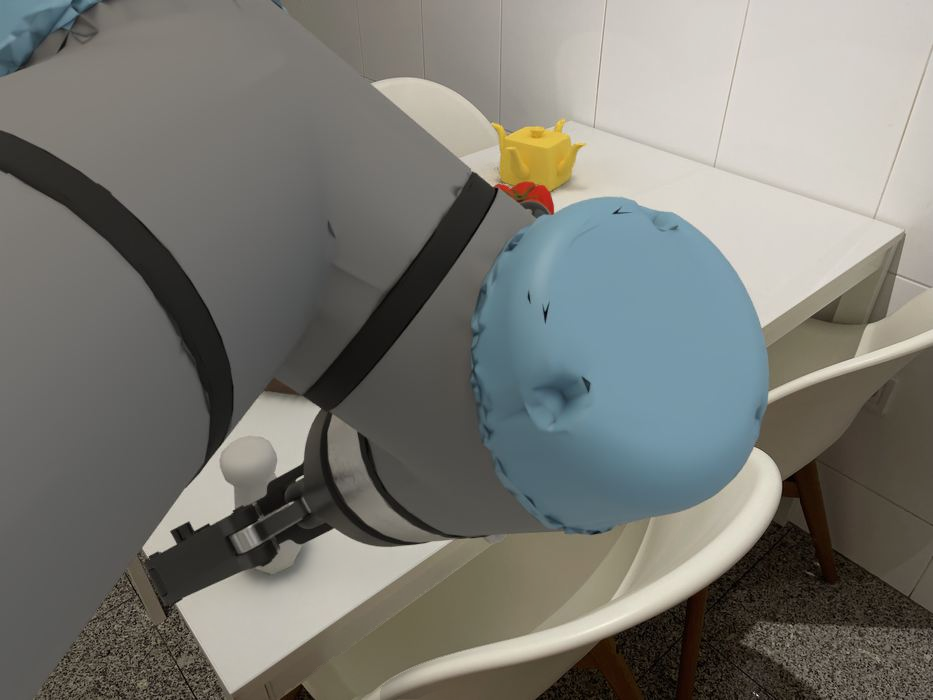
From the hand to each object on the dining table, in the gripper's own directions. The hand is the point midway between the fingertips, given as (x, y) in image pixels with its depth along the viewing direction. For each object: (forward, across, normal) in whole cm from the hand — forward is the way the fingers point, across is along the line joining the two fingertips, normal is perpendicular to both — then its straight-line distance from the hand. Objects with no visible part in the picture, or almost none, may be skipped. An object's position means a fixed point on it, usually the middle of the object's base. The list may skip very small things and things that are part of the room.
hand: (299, 497), depth 47 cm
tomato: (+38, +57, +17) cm, 71 cm away
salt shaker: (+18, 0, -4) cm, 19 cm away
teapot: (+49, +76, +28) cm, 95 cm away
